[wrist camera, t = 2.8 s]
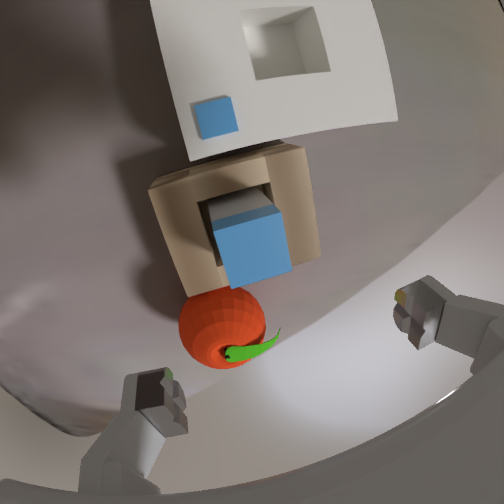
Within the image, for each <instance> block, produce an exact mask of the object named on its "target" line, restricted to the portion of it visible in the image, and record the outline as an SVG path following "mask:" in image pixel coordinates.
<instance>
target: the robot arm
mask: <svg viewBox="0 0 504 504" xmlns="http://www.w3.org/2000/svg"><path fill="white" fill-rule="evenodd" d="M500 1H501V3H502V5H503V8H504V0H500ZM395 300H396V301H397V304H396V306H395V307H394V312H393V317H394V320H395V323H396V325H397V327H398V328H399V329H400V331H401V332H404V333H408V339H409V341H410V342H411V343H412V344H413V345H414V346H415V347H416V349H417V350H419V349H421V348H423V347H425V346H427V345H429V344H430V343H432V342H434V341H435V342H437V343H439V344H441V345H444V346H446V347H448V348H451V349H453V350H455V351H458V352H460V353H463V354H465V355H468V356H470V357H472V358H474V361H473V363H472V365H471V368H470V372H471V373H472V374H473V376H472V377H471V378H469V379H468V380H467V381H466V382H464V383H463V384H462V385H460V386H459V387H458V388H456V389H455V390H454V391H452V392H451V393H449V394H448V395H447V396H445V397H443V398H442V399H440V400H439V401H438V402H436V403H434V404H433V405H431V406H430V407H429V408H427V409H425V410H424V411H422V412H420V413H419V414H417V415H416V416H414V417H412V418H411V419H409V420H407V421H405V422H403V423H402V424H400V425H398V426H396V427H394V428H392V429H391V430H389V431H387V432H385V433H383V434H381V435H379V436H377V437H375V438H373V439H371V440H369V441H367V442H365V443H362V444H360V445H358V446H356V447H354V448H351V449H349V450H347V451H344V452H342V453H340V454H337V455H335V456H332V457H329V458H327V459H324V460H322V461H319V462H316V463H313V464H310V465H308V466H305V467H302V468H299V469H296V470H292V471H289V472H286V473H282V474H279V475H275V476H272V477H268V478H264V479H260V480H256V481H252V482H247V483H243V484H238V485H233V486H227V487H222V488H216V489H209V490H202V491H195V492H186V493H175V494H163V495H162V494H161V491H160V488H159V487H158V486H157V485H155V484H153V483H151V482H150V481H148V480H147V479H146V478H147V476H148V474H149V472H150V470H151V468H152V466H153V464H154V462H155V460H156V458H157V456H158V454H159V452H160V450H161V448H162V446H163V444H164V442H165V439H166V437H172V436H177V435H182V434H187V433H188V423H187V417H186V416H185V414H184V413H183V411H184V410H185V408H186V399H185V396H184V392H183V390H182V388H181V386H180V384H179V383H178V382H177V381H175V380H173V373H172V372H171V371H170V369H169V368H167V367H165V368H160V369H155V370H150V371H144V372H140V373H135V374H129V375H127V376H126V377H125V379H124V386H123V393H122V401H121V410H120V413H117V414H116V415H115V416H114V417H113V419H112V420H111V421H110V423H109V424H108V425H107V427H106V428H105V429H104V431H103V432H102V433H101V435H100V436H99V437H98V438H97V440H96V441H95V442H94V444H93V445H92V446H91V448H90V449H89V450H88V452H87V453H86V454H85V456H84V457H83V458H82V459H81V466H80V476H79V488H78V492H72V491H65V490H58V489H52V488H47V487H42V486H37V485H32V484H28V483H23V482H19V481H16V480H12V479H2V480H1V481H0V504H504V305H502V304H498V303H494V302H489V301H484V300H480V299H476V298H472V297H468V296H463V295H458V296H456V295H455V294H454V293H452V292H451V291H450V290H449V289H447V288H446V287H445V286H444V285H442V284H441V283H440V282H438V281H437V280H436V279H435V278H433V277H432V276H429V275H427V276H425V277H423V278H421V279H419V280H418V281H415V282H413V283H411V284H409V285H407V286H404V287H402V288H400V289H398V290H397V291H396V293H395Z"/></svg>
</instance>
